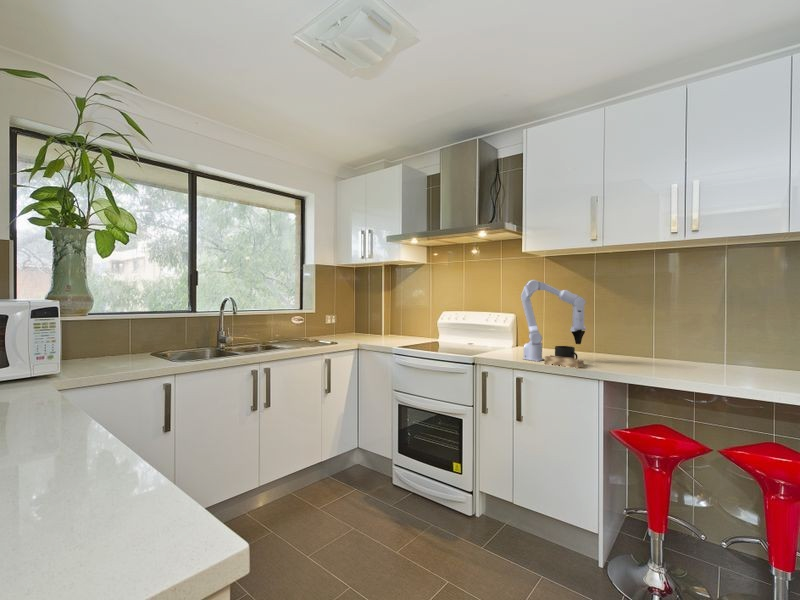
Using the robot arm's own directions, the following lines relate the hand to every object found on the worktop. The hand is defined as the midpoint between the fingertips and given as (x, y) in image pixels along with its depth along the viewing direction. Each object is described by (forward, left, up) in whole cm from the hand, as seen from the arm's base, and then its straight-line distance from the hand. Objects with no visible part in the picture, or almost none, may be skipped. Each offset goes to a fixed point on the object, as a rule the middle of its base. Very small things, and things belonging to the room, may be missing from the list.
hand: (578, 344), depth 215 cm
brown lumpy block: (0, -17, -9) cm, 20 cm away
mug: (0, -15, -10) cm, 17 cm away
